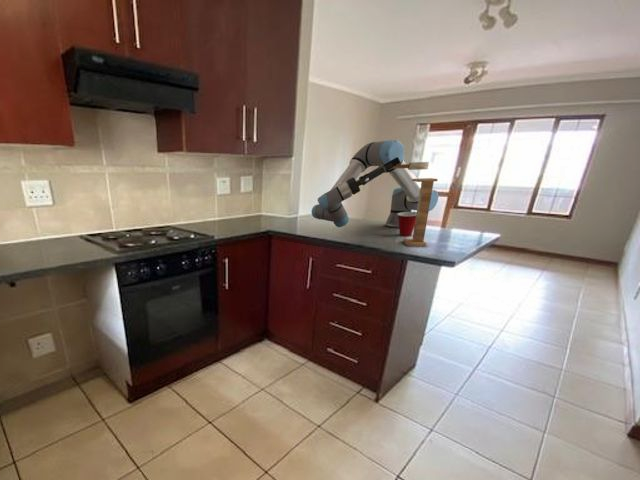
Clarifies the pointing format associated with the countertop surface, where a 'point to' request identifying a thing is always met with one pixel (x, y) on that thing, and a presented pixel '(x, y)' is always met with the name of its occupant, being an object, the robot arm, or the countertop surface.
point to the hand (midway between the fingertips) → (398, 160)
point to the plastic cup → (406, 223)
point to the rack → (421, 212)
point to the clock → (412, 166)
